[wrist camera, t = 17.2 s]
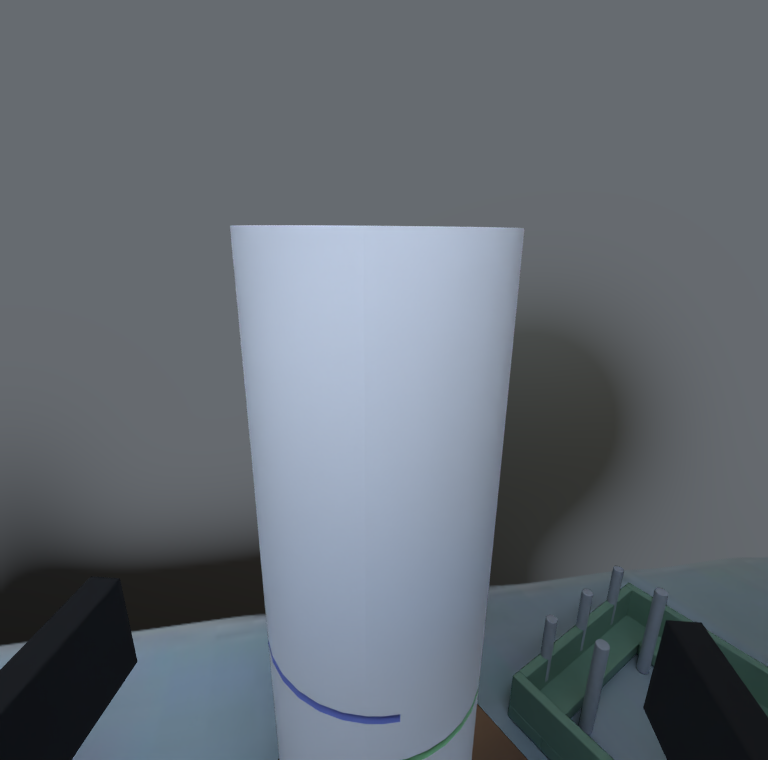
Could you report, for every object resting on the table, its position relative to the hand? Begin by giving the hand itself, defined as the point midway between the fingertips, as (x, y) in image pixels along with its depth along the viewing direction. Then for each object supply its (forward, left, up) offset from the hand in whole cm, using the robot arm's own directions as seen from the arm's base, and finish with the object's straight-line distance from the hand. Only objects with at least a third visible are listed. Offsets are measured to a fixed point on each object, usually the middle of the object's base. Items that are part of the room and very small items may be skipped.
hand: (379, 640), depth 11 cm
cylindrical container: (+3, -2, -16) cm, 16 cm away
